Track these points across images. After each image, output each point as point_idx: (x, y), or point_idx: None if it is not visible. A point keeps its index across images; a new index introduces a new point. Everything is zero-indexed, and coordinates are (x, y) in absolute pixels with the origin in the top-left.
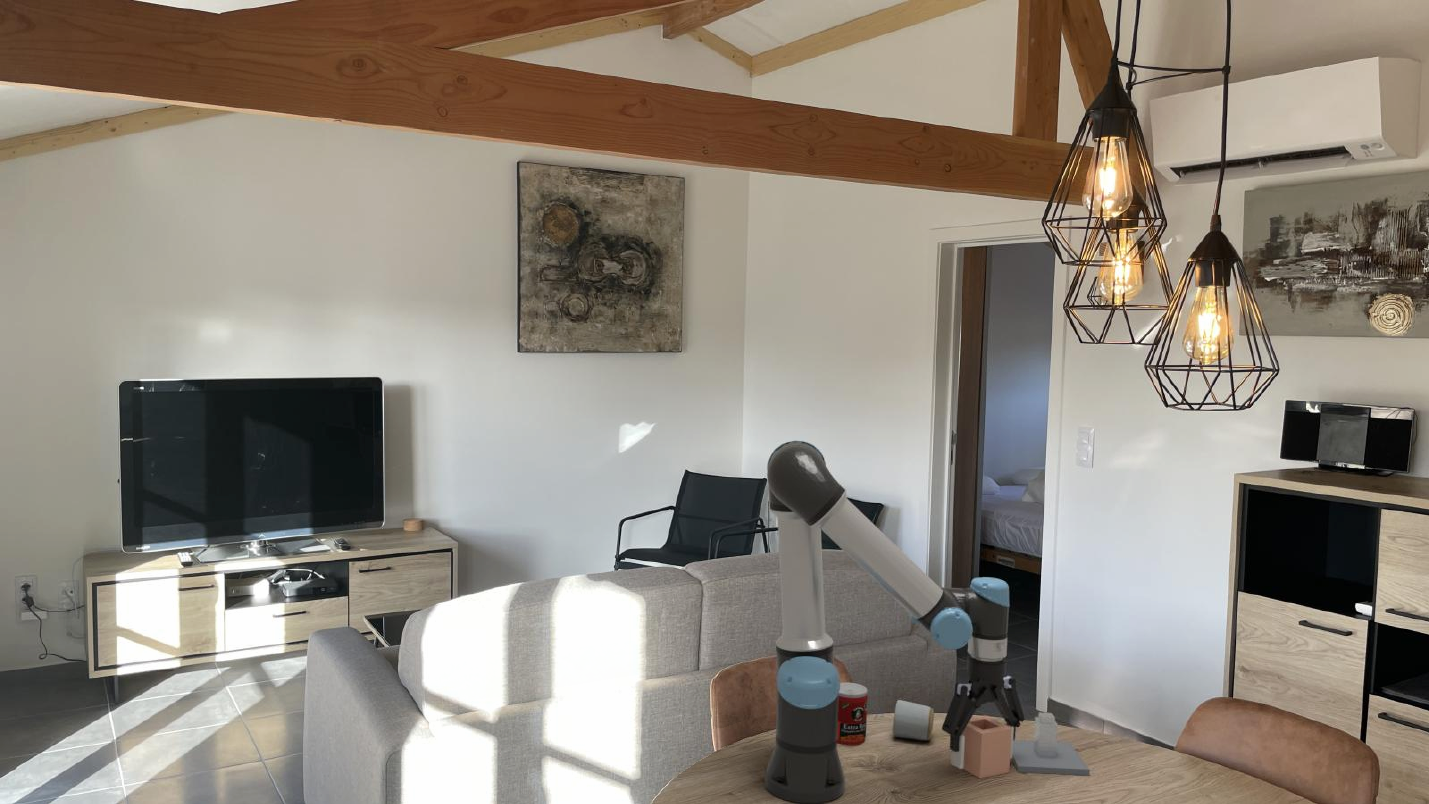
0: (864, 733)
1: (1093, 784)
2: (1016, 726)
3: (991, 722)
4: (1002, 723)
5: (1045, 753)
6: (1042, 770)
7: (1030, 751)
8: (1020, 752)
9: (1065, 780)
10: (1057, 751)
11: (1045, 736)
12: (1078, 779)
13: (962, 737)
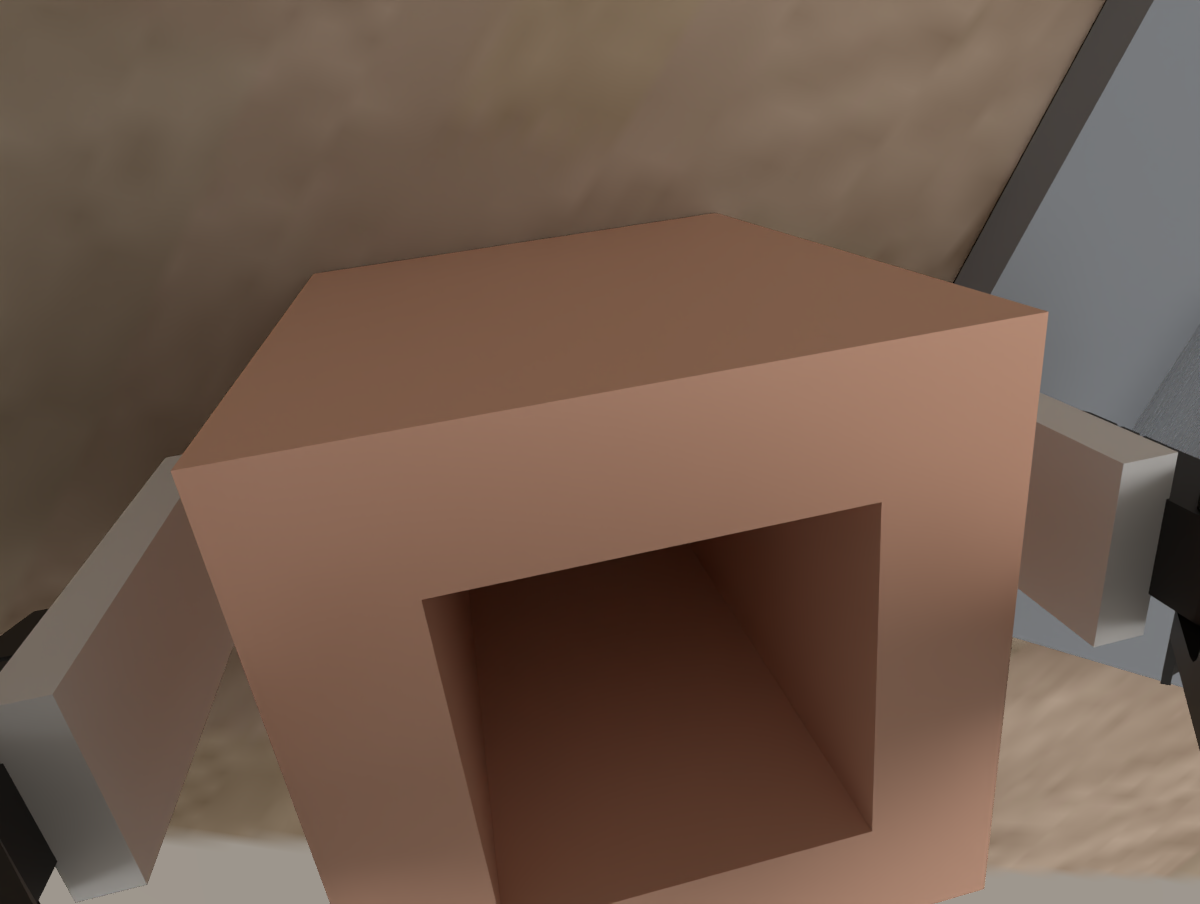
0: None
1: (1107, 776)
2: (1167, 682)
3: (878, 663)
4: (1121, 483)
5: None
6: None
7: (1163, 322)
8: (1068, 322)
9: (1007, 715)
10: None
11: None
12: (1091, 710)
13: (96, 889)
